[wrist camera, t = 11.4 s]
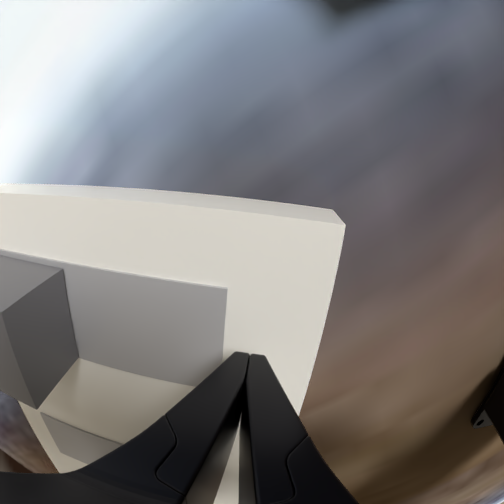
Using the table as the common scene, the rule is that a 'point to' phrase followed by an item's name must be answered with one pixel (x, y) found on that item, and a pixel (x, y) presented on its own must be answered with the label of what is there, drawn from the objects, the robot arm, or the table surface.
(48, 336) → the tab
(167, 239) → the switch panel
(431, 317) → the table surface
